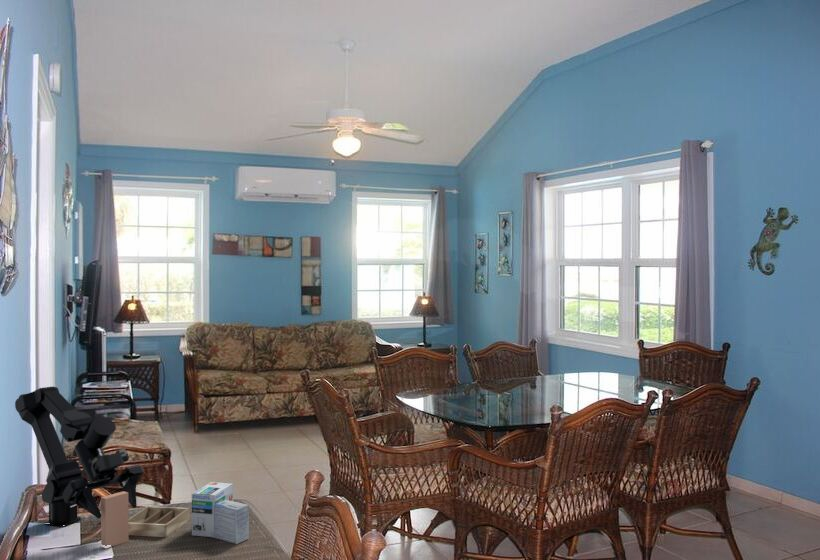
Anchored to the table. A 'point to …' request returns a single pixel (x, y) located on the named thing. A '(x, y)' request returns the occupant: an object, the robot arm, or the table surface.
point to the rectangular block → (114, 519)
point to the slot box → (158, 521)
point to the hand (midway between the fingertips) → (118, 512)
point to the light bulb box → (208, 506)
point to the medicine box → (231, 521)
